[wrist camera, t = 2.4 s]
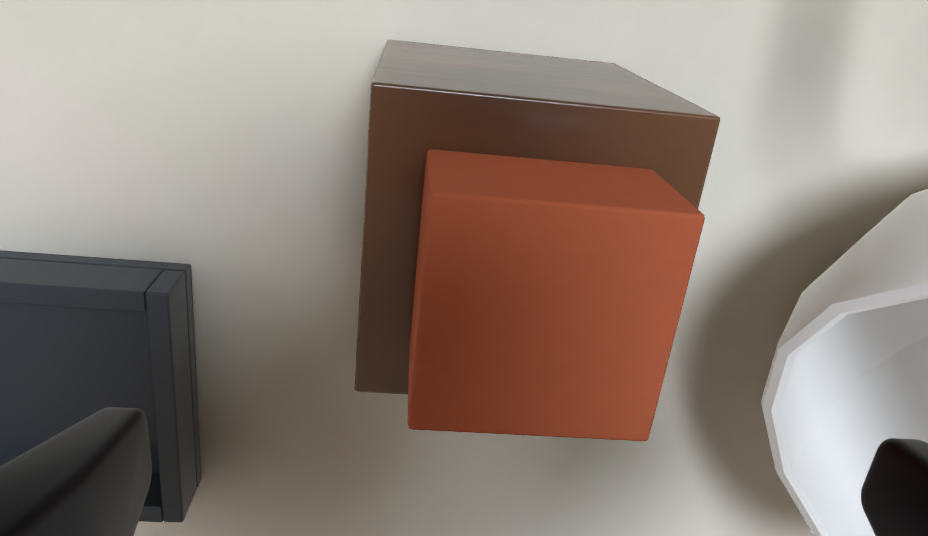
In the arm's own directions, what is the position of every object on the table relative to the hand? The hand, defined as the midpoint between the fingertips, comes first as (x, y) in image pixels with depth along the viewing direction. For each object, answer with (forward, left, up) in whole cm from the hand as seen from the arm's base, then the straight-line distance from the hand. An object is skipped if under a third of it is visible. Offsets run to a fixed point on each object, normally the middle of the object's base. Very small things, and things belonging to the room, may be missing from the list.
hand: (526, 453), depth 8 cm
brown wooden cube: (-1, 0, -12) cm, 12 cm away
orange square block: (-1, 0, -5) cm, 5 cm away
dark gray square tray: (+11, +7, -12) cm, 18 cm away
